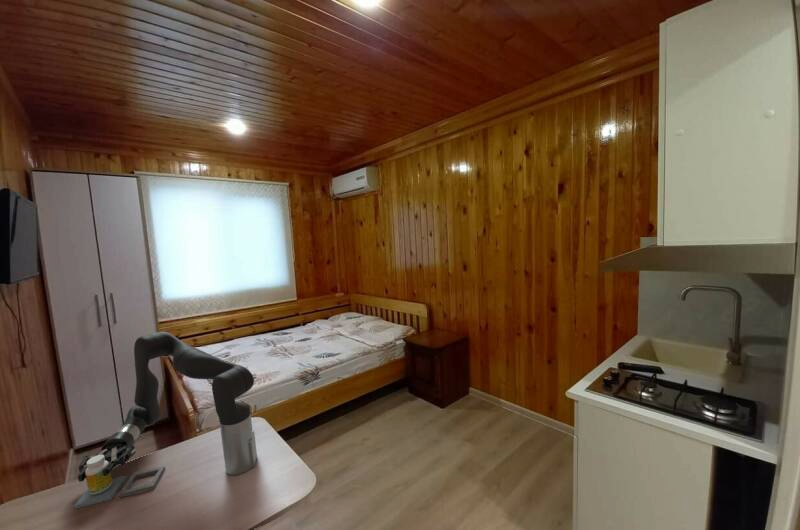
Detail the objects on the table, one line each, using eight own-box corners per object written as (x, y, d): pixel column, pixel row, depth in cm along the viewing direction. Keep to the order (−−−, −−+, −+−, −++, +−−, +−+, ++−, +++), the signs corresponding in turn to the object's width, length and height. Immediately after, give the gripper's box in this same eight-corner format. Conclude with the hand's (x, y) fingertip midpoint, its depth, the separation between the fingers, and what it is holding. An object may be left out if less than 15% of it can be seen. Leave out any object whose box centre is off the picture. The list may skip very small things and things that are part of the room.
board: (126, 478, 106) (125, 475, 106) (111, 499, 97) (110, 497, 97) (92, 485, 103) (92, 483, 103) (73, 508, 95) (73, 506, 94)
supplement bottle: (98, 496, 97) (92, 466, 96) (84, 493, 98) (78, 464, 97) (117, 481, 102) (111, 453, 101) (103, 479, 103) (98, 452, 102)
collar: (165, 469, 109) (164, 466, 109) (153, 489, 100) (153, 485, 100) (133, 476, 106) (133, 473, 106) (119, 497, 98) (118, 494, 98)
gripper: (94, 436, 110) (60, 471, 94) (144, 426, 114) (119, 458, 98) (98, 456, 111) (64, 494, 95) (147, 445, 115) (123, 480, 99)
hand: (92, 476), depth 97 cm, fingers closed on supplement bottle, 5 cm apart
